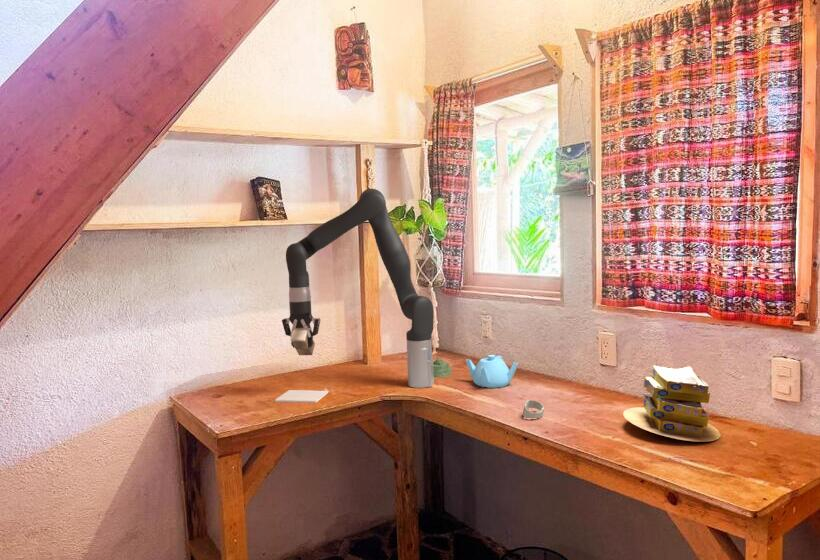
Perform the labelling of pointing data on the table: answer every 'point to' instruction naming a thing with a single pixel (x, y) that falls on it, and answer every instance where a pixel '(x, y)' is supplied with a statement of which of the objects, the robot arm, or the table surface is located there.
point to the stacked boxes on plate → (675, 406)
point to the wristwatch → (532, 405)
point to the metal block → (301, 342)
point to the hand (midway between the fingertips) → (302, 347)
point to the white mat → (301, 396)
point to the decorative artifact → (441, 368)
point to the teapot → (491, 372)
